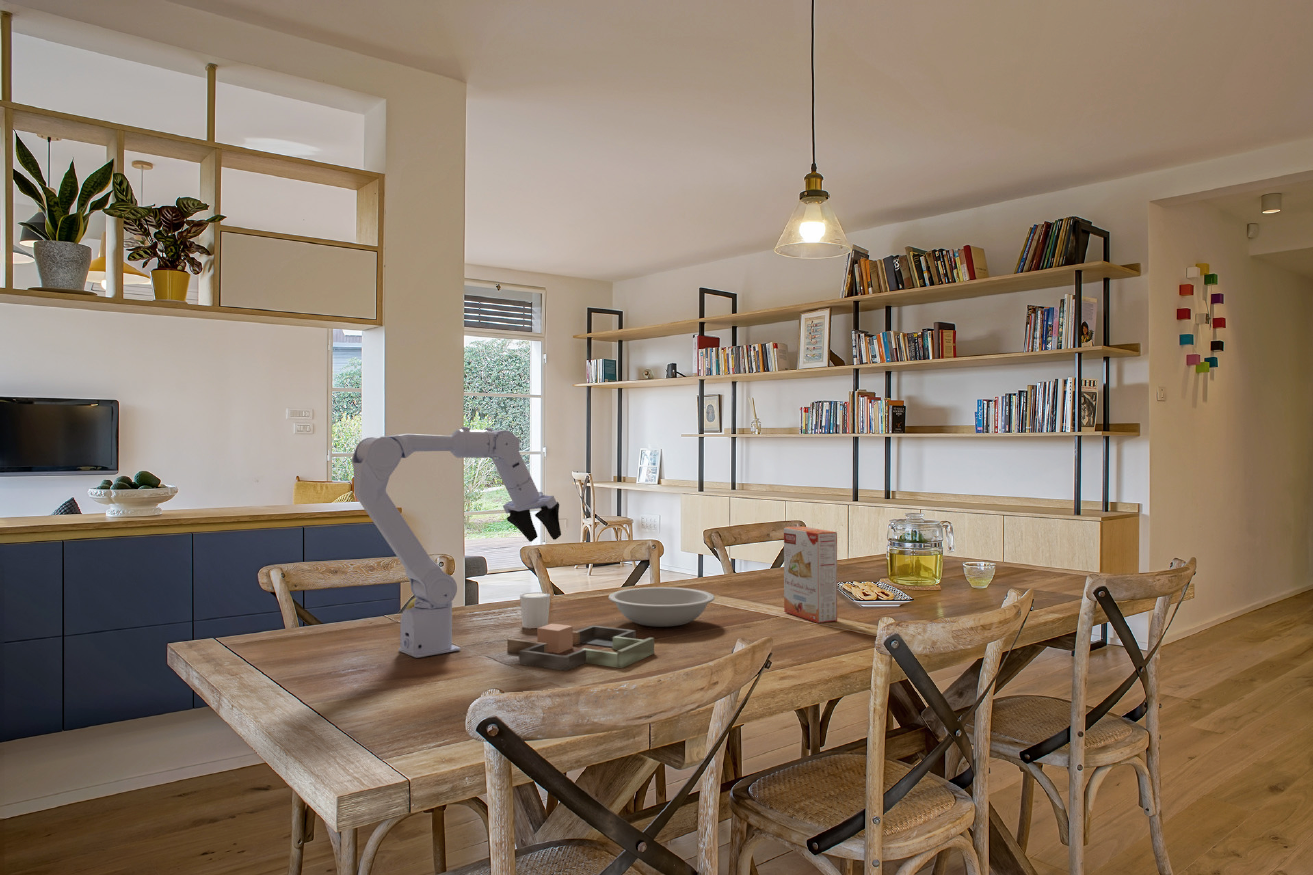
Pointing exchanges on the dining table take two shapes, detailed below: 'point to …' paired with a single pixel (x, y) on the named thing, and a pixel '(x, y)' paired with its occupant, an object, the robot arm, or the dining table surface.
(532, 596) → the white cup
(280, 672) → the dining table surface
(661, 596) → the soup bowl
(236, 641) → the dining table surface
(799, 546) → the cracker box
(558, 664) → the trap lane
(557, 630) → the block
